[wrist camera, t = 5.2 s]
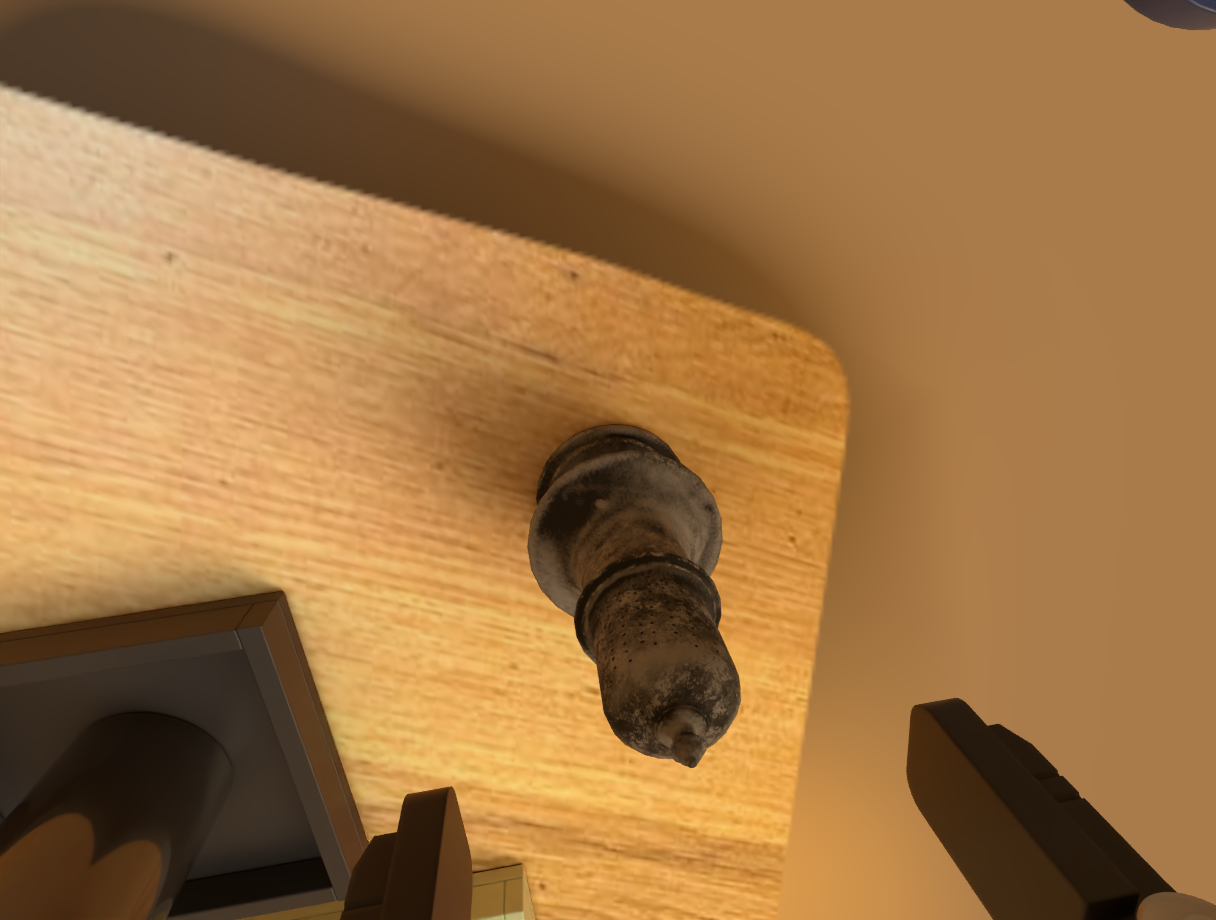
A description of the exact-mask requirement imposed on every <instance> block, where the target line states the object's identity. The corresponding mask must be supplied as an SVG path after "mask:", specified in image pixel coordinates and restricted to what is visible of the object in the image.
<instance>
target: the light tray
mask: <svg viewBox="0 0 1216 920" xmlns="http://www.w3.org/2000/svg"><path fill="white" fill-rule="evenodd" d="M472 878H473V890H472V906H471V919H470V920H536V919H535V914H534V910H533V905H532V901H531V896H530V892H529V887H528V883H527V878H526V873H525V869H524V865H517V866H511V867H506V868H501V869H495V870H490V871H484V872H479V873H473V874H472ZM344 902H345V900H343V901H338V900H337V901H335V902H330V903H325V904H320V905H314V906H309V907H303V908H298V909H293V910H287V911H282V912H276V913H271V914H266V915H260V916H255V917H249V918H244V919H238V920H340V917H341V913H342V911H344Z"/></svg>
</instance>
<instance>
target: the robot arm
mask: <svg viewBox="0 0 1216 920" xmlns="http://www.w3.org/2000/svg"><path fill="white" fill-rule="evenodd" d="M907 780H908V784H909V788H910V791H911V794H912V796H913V799H914V801H915V803H916V805H917V807H918V808H919V810H920V812H921V813H922V815H923V816H924V818H925V819H926V821H927V822H928V824H929V825H930V827H931V828H932V829H933V831H934V832H935V834H936V835H937V837H938V838H939V840H940V841H941V843H942V844H943V846H944V847H945V849H946V850H947V852H948V853H949V855H950V856H951V858H952V859H953V861H954V862H955V864H956V865H957V867H958V868H959V870H960V871H961V873H962V874H963V875H964V877H965V878H966V880H967V881H968V883H969V884H970V886H971V887H972V889H973V890H974V892H975V893H976V895H977V896H978V898H979V899H980V901H981V902H982V904H983V905H984V907H985V908H986V910H987V911H988V913H989V914H990V916H991V917H992V919H993V920H1216V905H1214V904H1212V903H1210V902H1207V901H1205V900H1202V899H1199V898H1197V897H1194V896H1190V895H1186V894H1182V893H1177V892H1176V891H1175V890H1174V889H1173V888H1172V887H1171V886H1170V885H1169V884H1167V883H1166V882H1165V881H1164V880H1163V879H1162V878H1161V876H1159V874H1158V873H1157V872H1156V871H1155V870H1154V869H1153V868H1152V867H1151V866H1150V865H1149V864H1148V863H1147V862H1146V861H1145V860H1144V859H1143V858H1142V857H1141V856H1140V855H1139V854H1138V853H1137V852H1136V851H1135V850H1134V849H1133V848H1132V847H1131V846H1130V845H1129V844H1128V843H1127V842H1126V841H1125V839H1124V838H1123V837H1122V836H1121V835H1120V834H1119V833H1118V832H1117V831H1116V830H1115V829H1114V828H1113V827H1112V826H1111V825H1110V824H1109V823H1108V822H1107V821H1106V820H1105V819H1104V818H1103V817H1102V816H1101V815H1100V814H1099V813H1098V812H1097V811H1096V810H1095V809H1094V808H1093V807H1092V806H1091V805H1090V803H1089V802H1088V801H1087V800H1086V799H1085V798H1083V799H1082V798H1081V797H1080V796H1079V792H1078V791H1077V790H1076V789H1075V788H1074V787H1073V786H1072V785H1071V784H1070V783H1069V782H1068V781H1067V780H1066V779H1065V778H1064V777H1063V776H1059V774H1058V771H1057V770H1056V768H1055V767H1054V766H1053V765H1052V764H1051V763H1050V762H1049V761H1048V760H1047V759H1046V758H1045V757H1044V756H1043V755H1042V754H1041V753H1040V752H1039V751H1038V750H1037V749H1036V748H1035V747H1034V746H1033V745H1032V744H1031V743H1029V742H1028V741H1026V740H1024V739H1023V738H1021V737H1019V736H1018V735H1016V734H1014V733H1013V732H1011V731H1010V730H1008V729H1006V728H1005V727H1003V726H1002V725H1000V724H995V725H990V726H987V725H986V724H985V723H984V722H983V721H982V720H981V718H980V717H979V716H978V715H977V714H976V713H975V712H974V711H973V710H972V709H971V708H970V706H969V705H968V704H967V703H966V702H964V701H963V700H961V699H959V698H953V699H947V700H941V701H935V702H930V703H924V704H919V705H915V706H914V707H913V708H912V711H911V717H910V730H909V744H908V755H907ZM472 890H473V878H472V863H471V855H470V850H469V845H468V841H467V837H466V833H465V829H464V825H463V821H462V817H461V813H460V810H459V806H458V802H457V798H456V794H455V791H454V789H453V787H452V786H451V787H445V788H440V789H434V790H429V791H423V792H418V793H412V794H407V795H406V797H405V799H404V801H403V805H402V810H401V815H400V820H399V825H398V830H397V832H395V833H390V834H384V835H379V836H374V837H373V839H372V840H371V842H370V843H369V845H368V847H367V848H366V850H365V851H364V853H363V854H362V856H361V857H360V859H359V860H358V862H357V864H356V865H355V867H354V868H353V871H352V875H351V879H350V883H349V886H348V890H347V894H346V898H345V902H344V911H342V913H341V917H340V920H470V919H471V906H472Z"/></svg>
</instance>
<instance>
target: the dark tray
mask: <svg viewBox="0 0 1216 920" xmlns="http://www.w3.org/2000/svg"><path fill="white" fill-rule="evenodd" d="M133 712H147V713H158V714H163V715H168V716H172V717H175V718H179V719H181V720H184V721H187V722H189V723H191V724H193V725H195V726H197V727H199V728H200V729H202V730H203V731H205V732H206V733H208V734H209V735H210V736H211V737H212V738H214V739H215V740H216V741H217V742H218V743H219V745H220V746H221V747H222V748H223V750H224V751H225V753H226V754H227V756H228V758H229V760H230V763H231V767H232V772H233V785H232V789H231V793H230V795H229V797H228V800H227V801H226V803H225V805H224V807H223V809H222V811H221V813H220V815H219V817H218V819H217V821H216V823H215V825H214V827H213V829H212V831H211V833H210V835H209V836H208V838H207V840H206V842H205V844H204V846H203V848H202V850H201V852H200V854H199V856H198V858H197V860H196V862H195V864H194V866H193V868H192V869H191V871H190V873H189V875H188V877H187V879H186V881H185V883H184V885H183V887H182V889H181V891H180V893H179V895H178V897H177V899H176V901H175V903H174V904H173V906H172V908H171V910H170V912H169V914H168V916H167V918H166V920H238V919H244V918H249V917H255V916H260V915H266V914H271V913H276V912H282V911H287V910H293V909H298V908H303V907H309V906H314V905H320V904H325V903H330V902H335V901H337V900H338V901H343V900H345V898H346V894H347V890H348V886H349V883H350V879H351V875H352V871H353V868H354V867H355V865H356V864H357V862H358V860H359V859H360V857H361V856H362V854H363V853H364V851H365V850H366V848H367V847H368V842H367V839H366V836H365V833H364V830H363V827H362V824H361V821H360V818H359V815H358V812H357V809H356V806H355V803H354V800H353V797H352V794H351V791H350V788H349V785H348V782H347V779H346V776H345V773H344V770H343V767H342V764H341V761H340V758H339V755H338V752H337V749H336V746H335V743H334V740H333V737H332V734H331V731H330V728H329V725H328V722H327V719H326V716H325V713H324V710H323V707H322V705H321V702H320V699H319V696H318V693H317V690H316V687H315V684H314V681H313V678H312V675H311V672H310V669H309V666H308V663H307V660H306V657H305V654H304V651H303V648H302V645H301V642H300V639H299V636H298V633H297V630H296V627H295V624H294V621H293V618H292V615H291V612H290V609H289V606H288V603H287V600H286V597H285V594H284V592H283V591H281V592H274V593H268V594H261V595H254V596H248V597H241V598H235V599H228V600H222V601H215V602H208V603H202V604H195V605H189V606H182V607H176V608H169V609H162V610H156V611H149V612H143V613H136V614H130V615H123V616H116V617H110V618H103V619H97V620H90V621H84V622H77V623H70V624H64V625H57V626H51V627H44V628H37V629H31V630H24V631H18V632H11V633H5V634H0V824H1V823H2V822H3V821H4V820H5V818H6V817H7V816H8V815H9V814H10V813H11V812H12V810H13V809H14V808H15V807H16V806H17V805H18V803H19V802H20V801H21V800H22V799H23V798H24V797H25V795H26V794H27V793H28V792H29V791H30V790H31V788H32V787H33V786H34V785H35V784H36V783H37V782H38V780H39V779H40V778H41V777H42V776H43V775H44V773H45V772H46V771H47V770H48V769H49V768H50V767H51V765H52V764H53V763H54V762H55V761H56V760H57V758H58V757H59V756H60V755H61V754H62V753H63V752H64V750H65V749H66V748H67V747H68V746H69V745H70V743H71V742H72V741H73V740H74V739H75V738H76V737H77V735H79V734H80V733H81V732H82V731H83V730H84V729H86V728H87V727H89V726H90V725H92V724H94V723H96V722H98V721H100V720H102V719H105V718H108V717H111V716H114V715H119V714H124V713H133Z"/></svg>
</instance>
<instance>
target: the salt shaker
mask: <svg viewBox="0 0 1216 920" xmlns="http://www.w3.org/2000/svg"><path fill="white" fill-rule="evenodd" d="M536 501H537V508H536V511H535V513H534V515H533V518H532V520H531V522H530V530H529V538H528V545H527V548H528V553H529V559H530V565H531V570H532V572H533V574H534V576H535V578H536V580H537V582H538V584H539V586H540V588H541V590H542V591H543V592H544V593H545V595H546V596H547V597H548V598H549V599H550V600H551V601H552V602H553V603H554V604H555V605H556V606H557V607H558V608H560V609H561V610H563V611H565V612H566V613H568V614H569V615H571V616H573V617H574V623H575V630H576V636H577V639H578V641H579V643H580V645H581V647H582V649H583V651H584V652H585V653H586V654H587V655H588V656H589V657H590V658H591V660H592V661H593V662H594V663H595V664H597V670H598V677H599V684H600V690H601V697H602V703H603V710H604V714H605V716H606V718H607V720H608V722H609V724H610V726H611V728H612V730H613V732H614V734H615V735H616V736H617V737H618V738H619V739H620V740H621V741H622V742H623V743H624V744H625V745H627V746H629V747H631V748H633V749H634V750H636V751H638V752H640V753H642V754H644V755H647V756H651V757H655V758H659V759H674V760H675V761H676V762H679V763H681V764H682V765H685V766H688V767H690V768H694V767H696V766H697V763H699V761H700V760H701V758H702V756H703V754H704V753H705V751H706V749H707V748H709V747H710V746H712V745H713V744H715V743H716V742H717V741H718V740H719V739H720V738H721V737H722V736H723V735H724V734H725V733H726V732H727V730H728V728H729V727H730V725H731V724H732V722H733V720H734V718H735V717H736V715H737V712H738V709H739V705H740V701H741V694H740V681H739V675H738V673H737V670H736V668H735V665H734V663H733V661H732V659H731V656H730V654H729V652H728V650H727V648H726V645H725V643H724V641H723V639H722V637H721V635H720V632H719V630H718V626H719V622H720V618H721V601H720V596H719V594H718V591H717V589H716V586H715V584H714V582H713V580H712V579H711V578H710V576H711V574H712V572H713V570H714V568H715V566H716V565H717V562H718V558H719V554H720V550H721V545H722V520H721V516H720V513H719V510H718V507H717V505H716V502H715V499H714V497H713V495H712V494H711V492H710V491H709V490H708V488H707V487H706V486H705V484H704V483H703V482H702V480H701V479H700V478H699V476H697V475H696V474H695V473H693V472H692V471H691V470H689V469H688V468H687V467H685V466H684V465H683V464H681V463H680V461H679V459H678V458H677V456H676V455H675V454H674V452H673V451H672V450H671V448H670V447H669V446H668V445H667V444H666V443H664V442H663V441H662V440H661V439H659V438H658V437H657V436H655V435H654V434H652V433H650V432H647V431H645V430H642V429H640V428H637V427H634V426H626V425H617V424H612V425H605V426H598V427H593V428H590V429H588V430H586V431H583V432H581V433H578V434H576V435H574V436H573V437H571V438H570V439H569V440H567V441H566V442H565V443H563V444H562V445H561V446H559V447H558V448H557V450H556V451H555V452H554V453H553V455H552V456H551V457H550V458H549V460H548V461H547V462H546V464H545V466H544V469H543V471H542V473H541V476H540V478H539V481H538V489H537V497H536Z"/></svg>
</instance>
